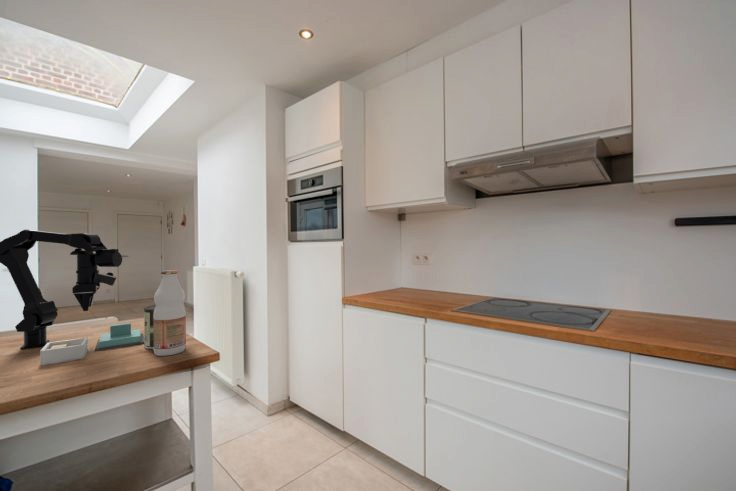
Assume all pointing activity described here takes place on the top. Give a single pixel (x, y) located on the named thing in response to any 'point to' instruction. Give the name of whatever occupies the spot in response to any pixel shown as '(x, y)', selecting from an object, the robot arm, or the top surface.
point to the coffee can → (149, 327)
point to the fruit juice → (169, 316)
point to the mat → (120, 345)
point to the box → (64, 351)
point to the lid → (119, 335)
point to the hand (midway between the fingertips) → (87, 308)
